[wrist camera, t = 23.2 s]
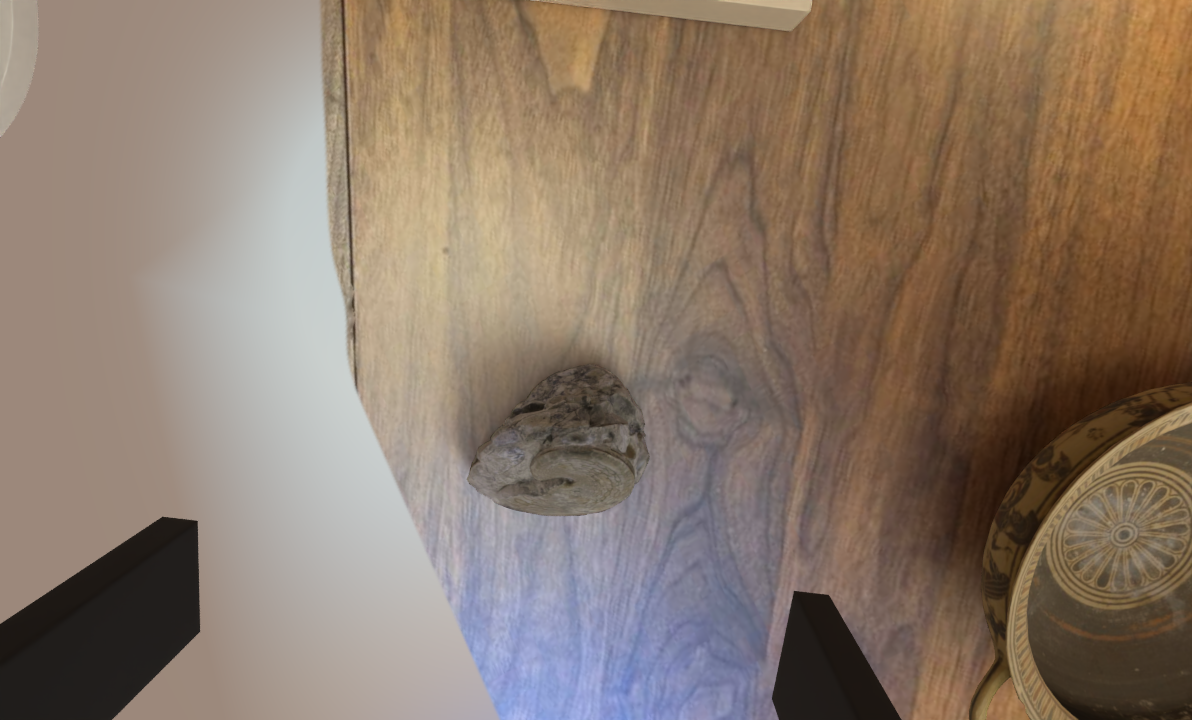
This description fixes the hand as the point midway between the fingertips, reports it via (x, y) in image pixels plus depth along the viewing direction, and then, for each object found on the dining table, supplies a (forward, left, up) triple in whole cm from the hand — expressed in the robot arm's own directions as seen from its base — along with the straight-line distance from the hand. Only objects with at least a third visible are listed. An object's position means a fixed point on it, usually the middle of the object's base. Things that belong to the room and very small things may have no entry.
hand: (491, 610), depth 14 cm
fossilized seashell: (+2, -5, -27) cm, 27 cm away
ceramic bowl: (+36, +6, -27) cm, 45 cm away
